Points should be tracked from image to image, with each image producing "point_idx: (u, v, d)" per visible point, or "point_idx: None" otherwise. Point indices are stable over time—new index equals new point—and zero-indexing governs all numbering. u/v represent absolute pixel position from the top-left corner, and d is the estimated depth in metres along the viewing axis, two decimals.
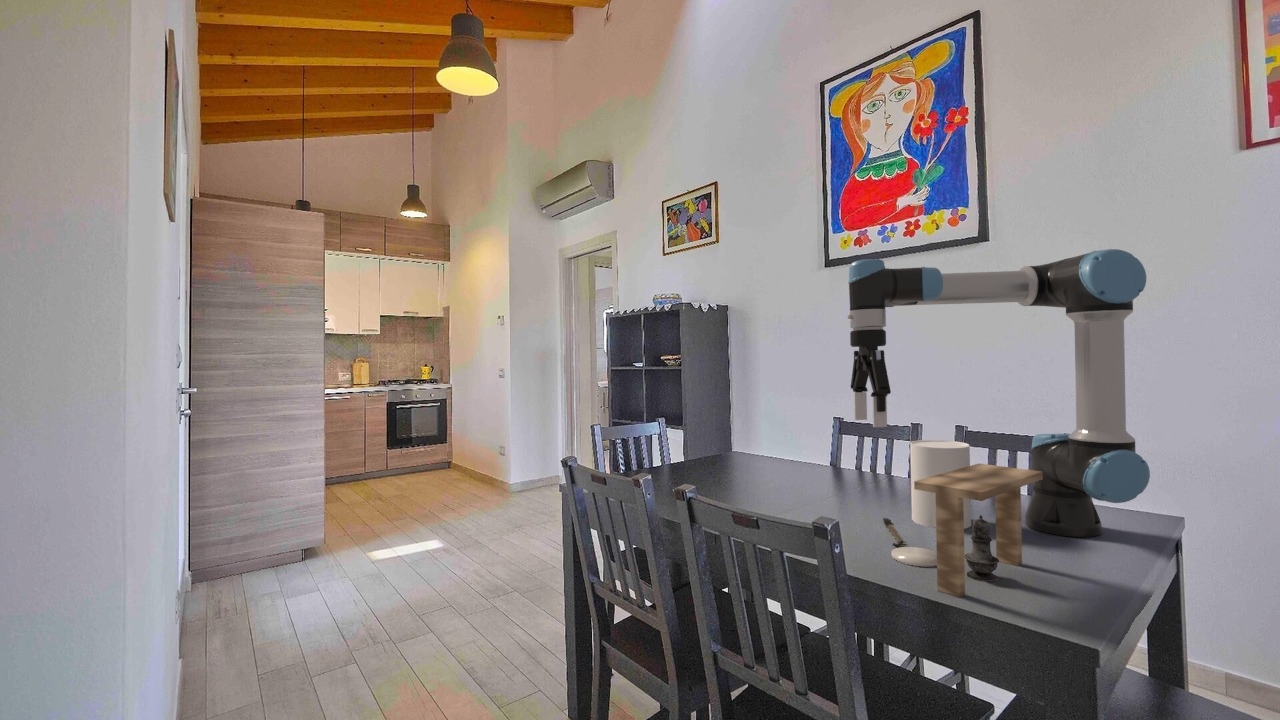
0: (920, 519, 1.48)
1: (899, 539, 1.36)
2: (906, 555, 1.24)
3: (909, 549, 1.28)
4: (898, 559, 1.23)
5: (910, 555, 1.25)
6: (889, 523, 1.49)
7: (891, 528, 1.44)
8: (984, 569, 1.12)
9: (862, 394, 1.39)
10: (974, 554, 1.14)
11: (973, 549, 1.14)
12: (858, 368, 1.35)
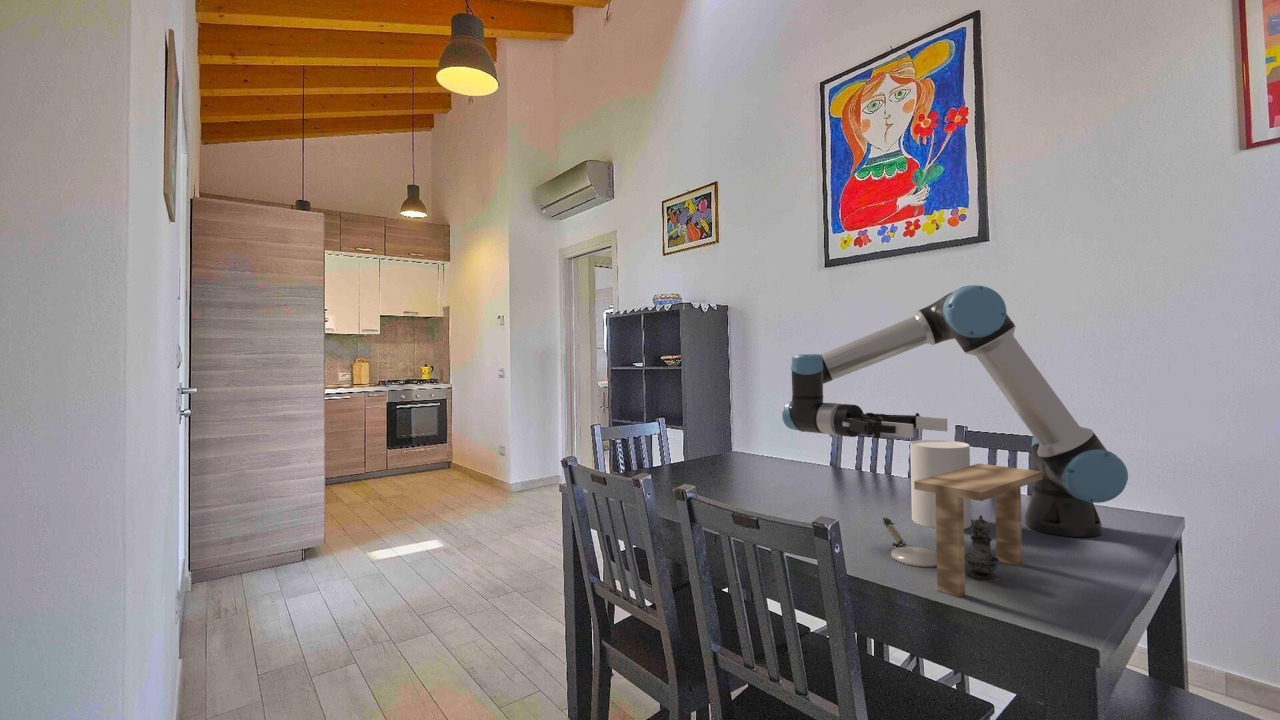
0: (920, 519, 1.48)
1: (899, 539, 1.36)
2: (906, 555, 1.24)
3: (909, 549, 1.28)
4: (898, 559, 1.23)
5: (910, 555, 1.25)
6: (889, 523, 1.49)
7: (891, 528, 1.45)
8: (984, 569, 1.12)
9: (918, 420, 1.30)
10: (974, 554, 1.14)
11: (973, 549, 1.14)
12: None
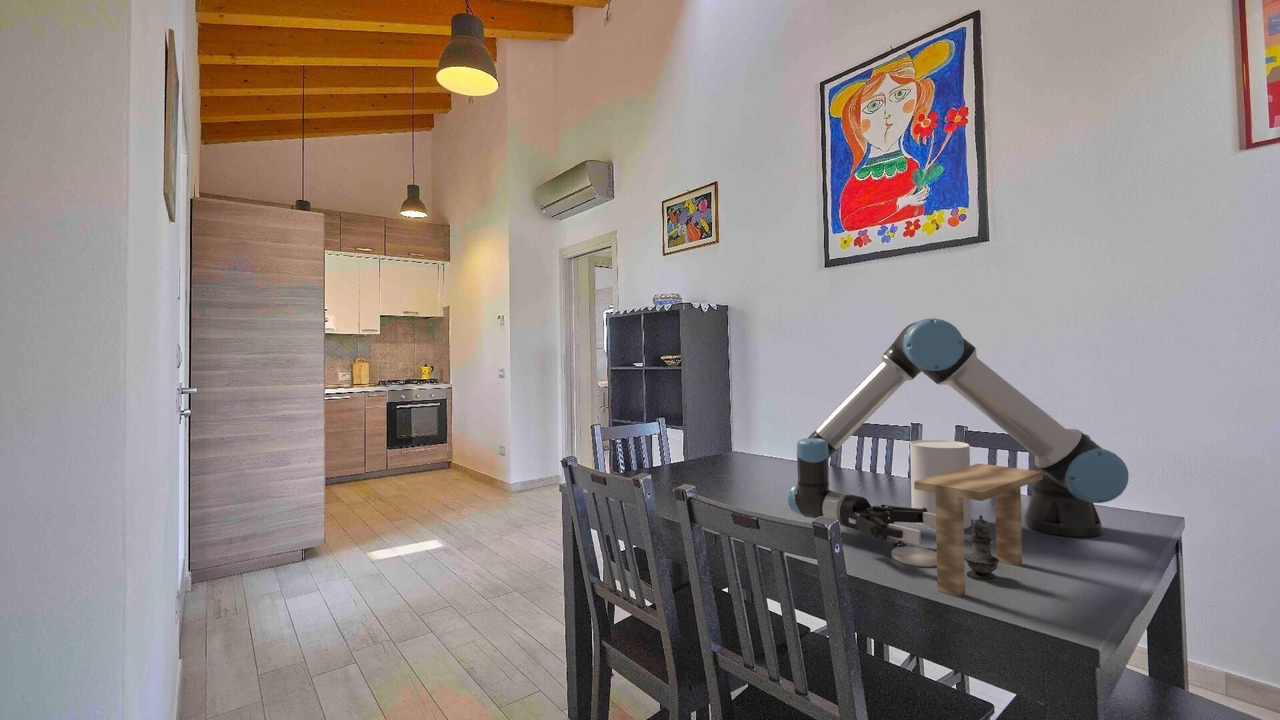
0: None
1: None
2: (906, 555, 1.24)
3: (909, 549, 1.28)
4: (898, 559, 1.23)
5: (910, 555, 1.25)
6: None
7: None
8: (984, 569, 1.12)
9: (925, 517, 1.30)
10: (974, 554, 1.14)
11: (973, 549, 1.14)
12: (889, 522, 1.32)
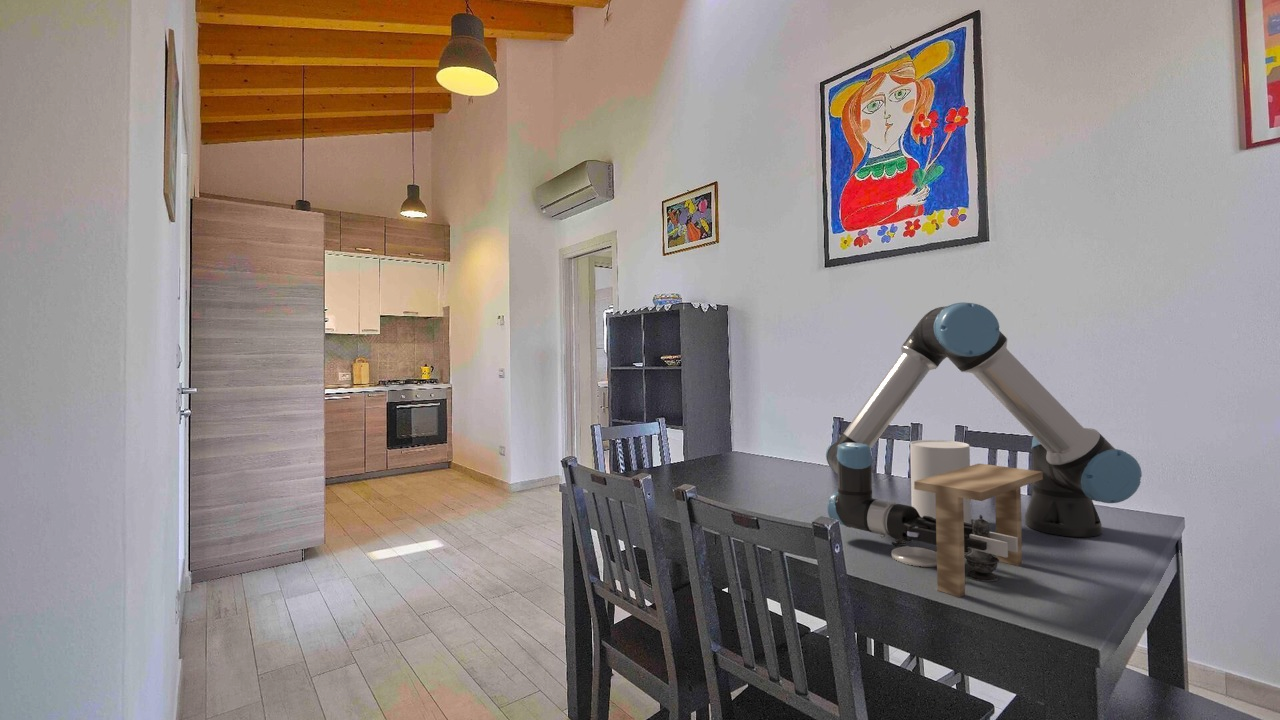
0: None
1: None
2: (906, 555, 1.24)
3: (909, 549, 1.28)
4: (898, 559, 1.23)
5: (910, 555, 1.25)
6: None
7: None
8: (984, 569, 1.12)
9: None
10: (974, 554, 1.14)
11: None
12: None
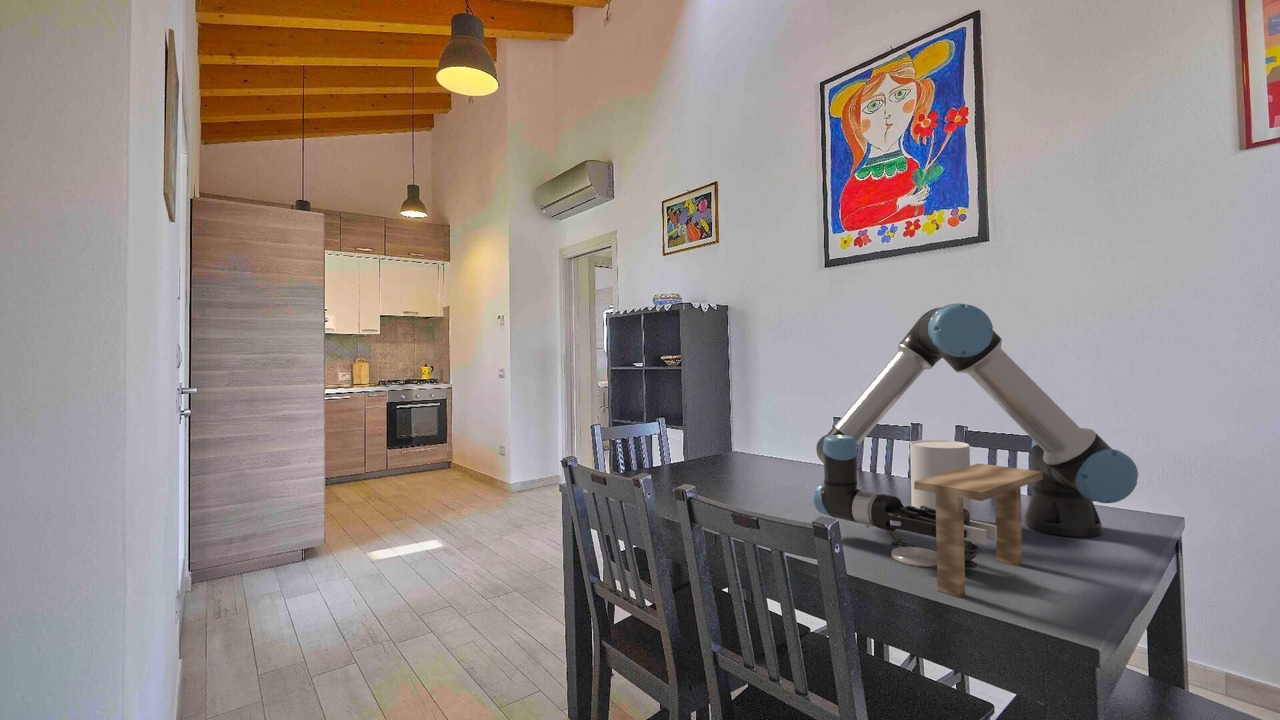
0: None
1: (898, 538, 1.37)
2: (906, 555, 1.24)
3: (909, 549, 1.28)
4: (898, 559, 1.23)
5: (910, 555, 1.25)
6: None
7: None
8: (964, 556, 1.15)
9: None
10: None
11: None
12: None
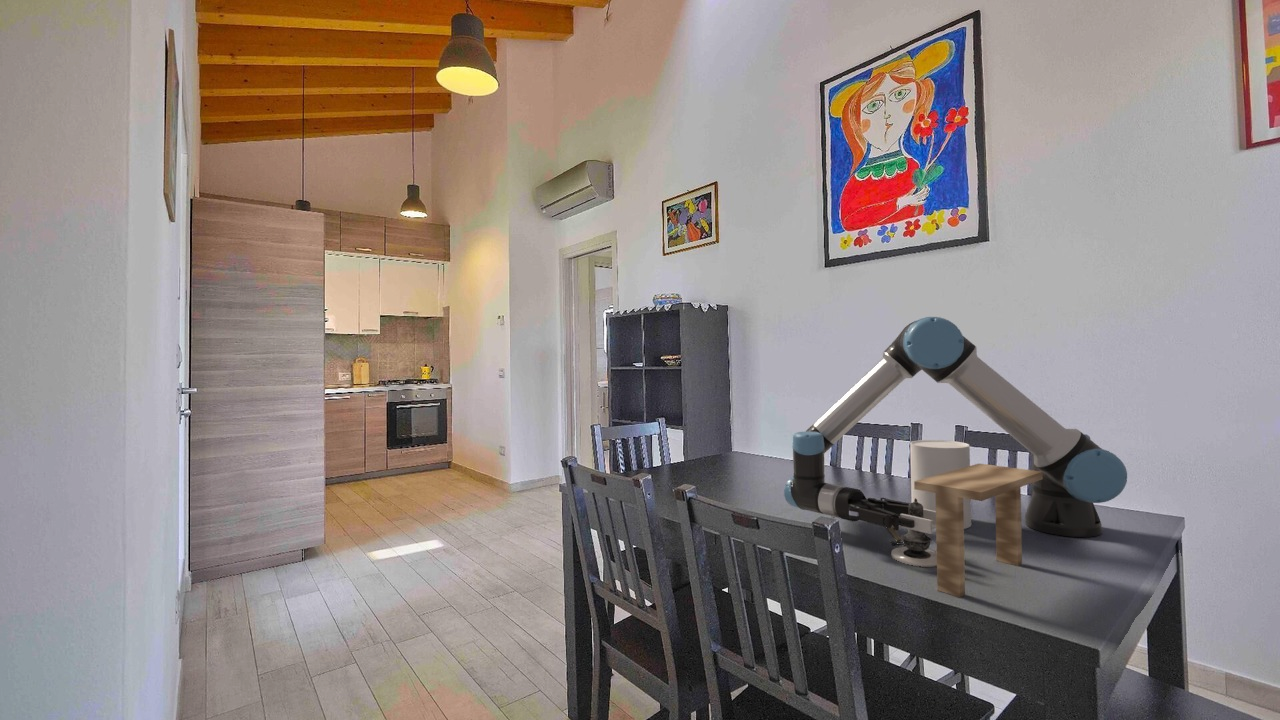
0: None
1: (897, 537, 1.37)
2: None
3: None
4: (898, 559, 1.23)
5: None
6: None
7: None
8: (918, 547, 1.23)
9: None
10: (909, 534, 1.24)
11: (909, 529, 1.25)
12: None
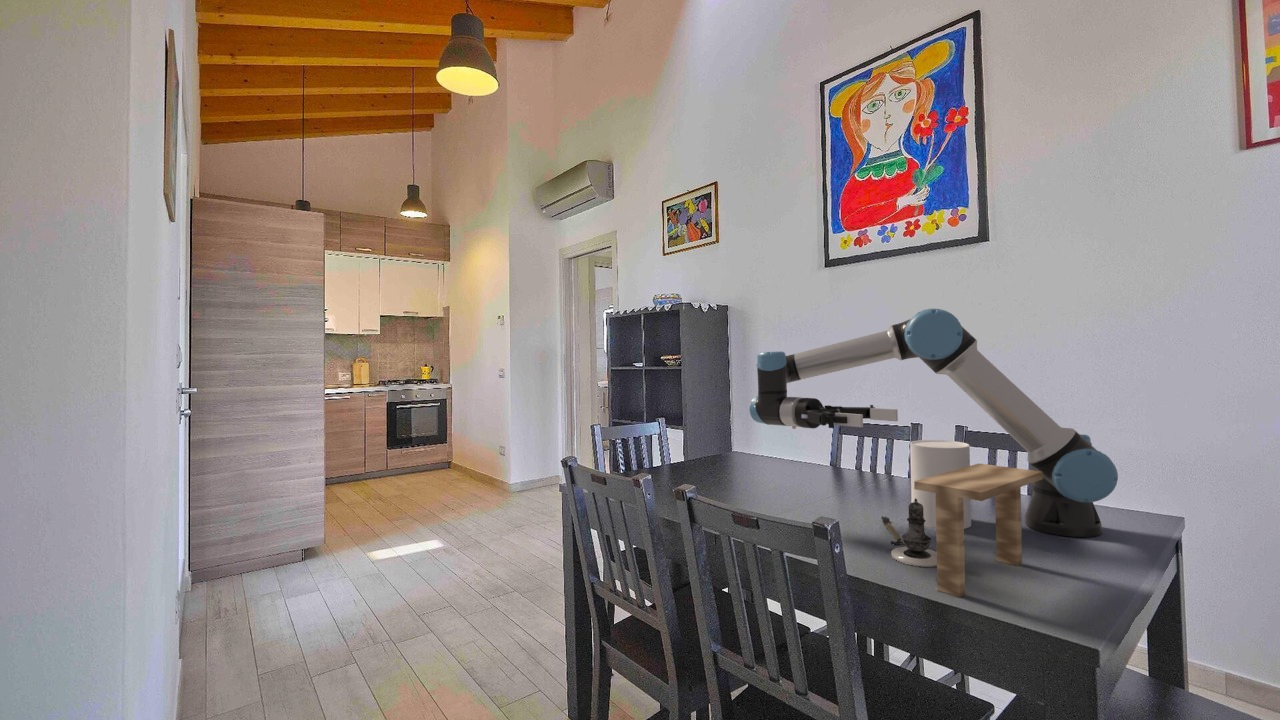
0: None
1: (897, 537, 1.37)
2: None
3: None
4: (898, 559, 1.23)
5: None
6: (887, 521, 1.50)
7: (889, 526, 1.46)
8: (918, 547, 1.23)
9: (872, 412, 1.39)
10: (909, 534, 1.24)
11: (909, 529, 1.25)
12: None
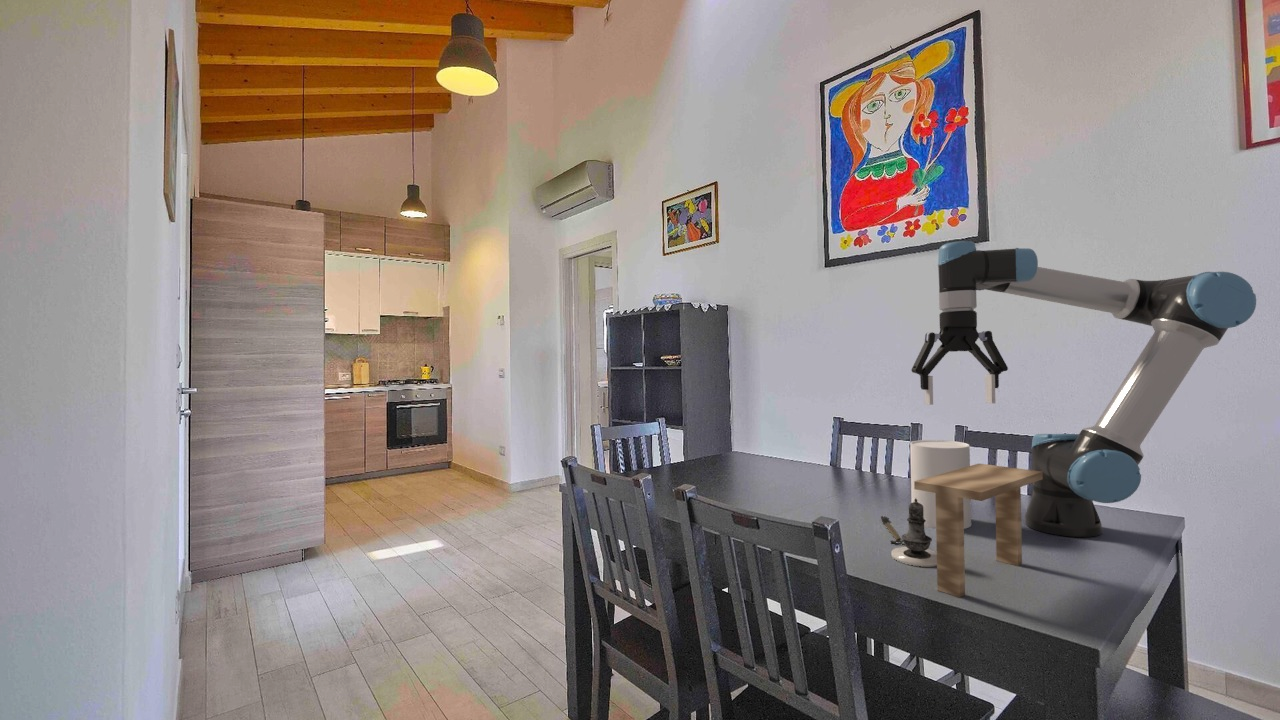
0: None
1: (897, 537, 1.38)
2: None
3: None
4: (898, 559, 1.23)
5: None
6: (887, 521, 1.51)
7: (889, 526, 1.46)
8: (918, 547, 1.23)
9: (989, 376, 1.33)
10: (909, 534, 1.24)
11: (909, 529, 1.25)
12: None
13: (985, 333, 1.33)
